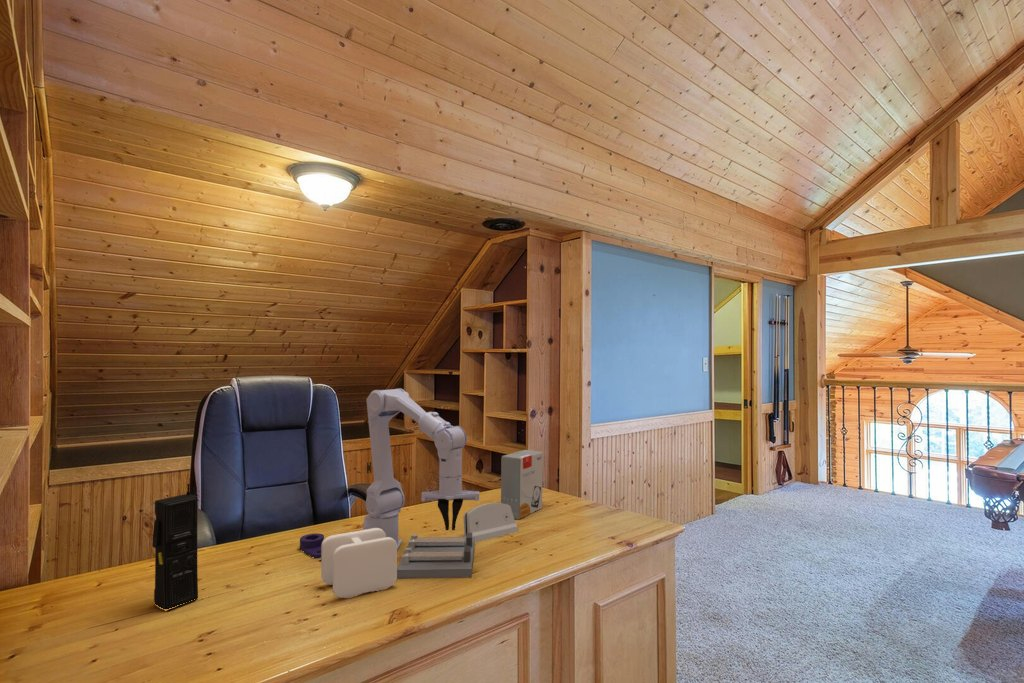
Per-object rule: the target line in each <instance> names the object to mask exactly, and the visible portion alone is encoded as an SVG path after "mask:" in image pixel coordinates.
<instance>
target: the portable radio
mask: <svg viewBox="0 0 1024 683" xmlns="http://www.w3.org/2000/svg"><path fill="white" fill-rule="evenodd" d="M190 485H191V483H187V484H186V486H187V491H186V494H180V495H179V494H178V495H175V496H171V497H166V498H161V499H157V500H155V501H154V514H155V519H154V520H153V533H152V544H151V545H152V546H151V547H152V548H154V549H155V556H154V557H155V558H154V560H155V561H154V564H155V566H154V568H155V569H154V590H153V603H154V602H155V604H156V605H158V606H159V607H161V608H163V609H169V608H172V607H175V606H177V605H180V604H183V603H186V602H189V601H191V600H194V599H197V598H198V597H199V590H198V589H199V583H198V580H199V578H198V573H199V572H198V495H194V494H191V491H190ZM197 600H198V599H197ZM194 601H195V600H194ZM189 603H190V602H189ZM155 604H154V605H155ZM186 604H187V603H186Z"/></svg>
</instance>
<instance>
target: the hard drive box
mask: <svg viewBox="0 0 1024 683" xmlns="http://www.w3.org/2000/svg"><path fill="white" fill-rule="evenodd" d="M543 457H544V456H543V451H538V450H531V449H523V450H519V451H515V452H512V453H509V454H505V455H502V456H501V463H500V464H501V469H500V470H501V472H500V476H501V478H500V503H503V504H508V505H510V507H511V510H512V513H513V516H514V520H515V519H516V520H521V519H523V518H525V517H524V516H526V517H527V516H529V515H531V514H533V513H536V512H538V511H540V510H542V509H543V464H544V463H543V462H544V461H543V459H544V458H543ZM541 508H542V509H541ZM539 509H540V510H539ZM537 510H538V511H537ZM535 511H536V512H535ZM520 518H521V519H520Z"/></svg>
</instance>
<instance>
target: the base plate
mask: <svg viewBox="0 0 1024 683" xmlns="http://www.w3.org/2000/svg"><path fill="white" fill-rule="evenodd" d="M413 537H415V538H419V537H418V534H417V533H416V534H411V535H410V539H409V540H408V542H407V543H408V544H407V546H406V547H405V549H404V552H403V554H402V556H401V559H400V561H399V564H398V565H397V579H436V578H437V579H440V578H441V579H442V578H444V579H445V578H447V579H449V578H450V579H451V578H472V573H473V563H474V555H475V544H476V543H475V537H472V533H467V535H466V537H464V536H448V537H443V536H440V537H432V538H465V545H464V546H415V540H411V539H412V538H413ZM406 551H409V552H463V558H462V560H409V555H405V553H406Z"/></svg>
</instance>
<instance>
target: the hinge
mask: <svg viewBox="0 0 1024 683" xmlns="http://www.w3.org/2000/svg"><path fill="white" fill-rule="evenodd" d="M518 531H519V532H520V530H519V525H518V524H517V523H516V520H515V518H514V516H513V513H512V510H511V507H510V505H508V504H503V503H501V502H488V503H482V504H480V505H478V506H475V507H472V508H471V509H469V510H468V511H466V512H465V513H464V514H463V533H464V536H463V537H466V535H467V533H472V537H475V542H476V543H480V542H483V541H482V540H484V541H487V540H486V539H489V540H491V539H490V538H493V539H495V538H494V537H497V538H499V537H498V536H501V537H503V536H502V535H505V536H507V535H506V534H510V533H514V532H518ZM519 532H518V533H519ZM514 534H515V533H514ZM510 535H511V534H510ZM479 541H480V542H479Z"/></svg>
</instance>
